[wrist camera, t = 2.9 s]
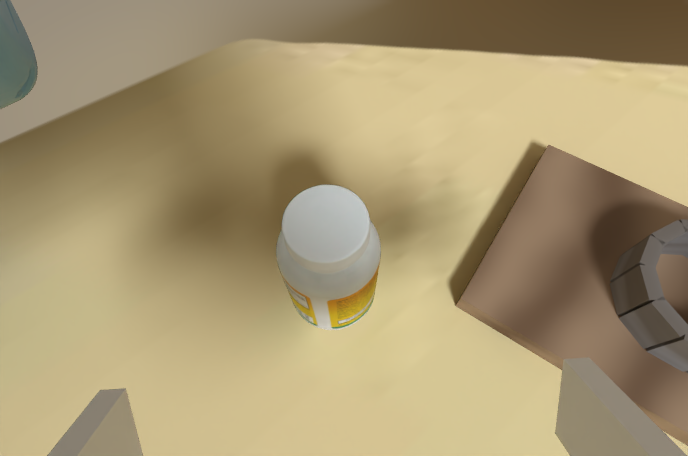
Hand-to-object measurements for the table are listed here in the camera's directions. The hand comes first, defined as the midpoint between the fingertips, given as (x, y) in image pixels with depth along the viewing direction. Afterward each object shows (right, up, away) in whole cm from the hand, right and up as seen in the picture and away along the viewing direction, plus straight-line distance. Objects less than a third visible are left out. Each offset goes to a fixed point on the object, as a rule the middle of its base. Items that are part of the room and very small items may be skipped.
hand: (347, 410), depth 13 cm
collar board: (+20, 0, +13) cm, 24 cm away
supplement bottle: (-1, +1, +15) cm, 15 cm away
